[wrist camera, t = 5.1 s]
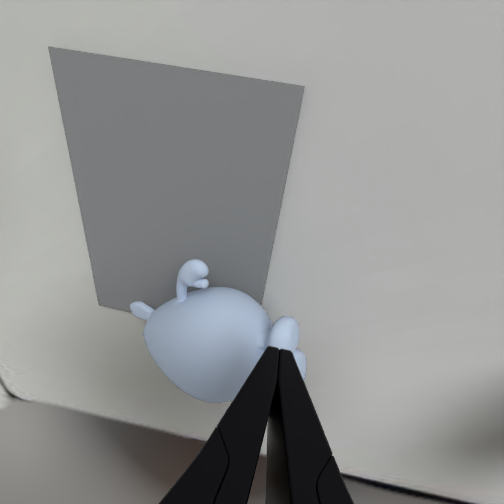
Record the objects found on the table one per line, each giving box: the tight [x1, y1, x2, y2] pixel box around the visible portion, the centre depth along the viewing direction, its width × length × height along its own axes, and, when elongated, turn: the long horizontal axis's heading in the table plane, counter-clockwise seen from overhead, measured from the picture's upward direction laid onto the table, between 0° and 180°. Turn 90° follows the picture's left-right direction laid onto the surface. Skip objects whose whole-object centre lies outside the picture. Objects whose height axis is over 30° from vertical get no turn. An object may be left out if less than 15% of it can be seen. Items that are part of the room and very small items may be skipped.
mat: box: [48, 47, 305, 312], centre depth 17 cm, size 12×16×1 cm
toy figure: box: [130, 259, 306, 403], centre depth 17 cm, size 11×6×12 cm
